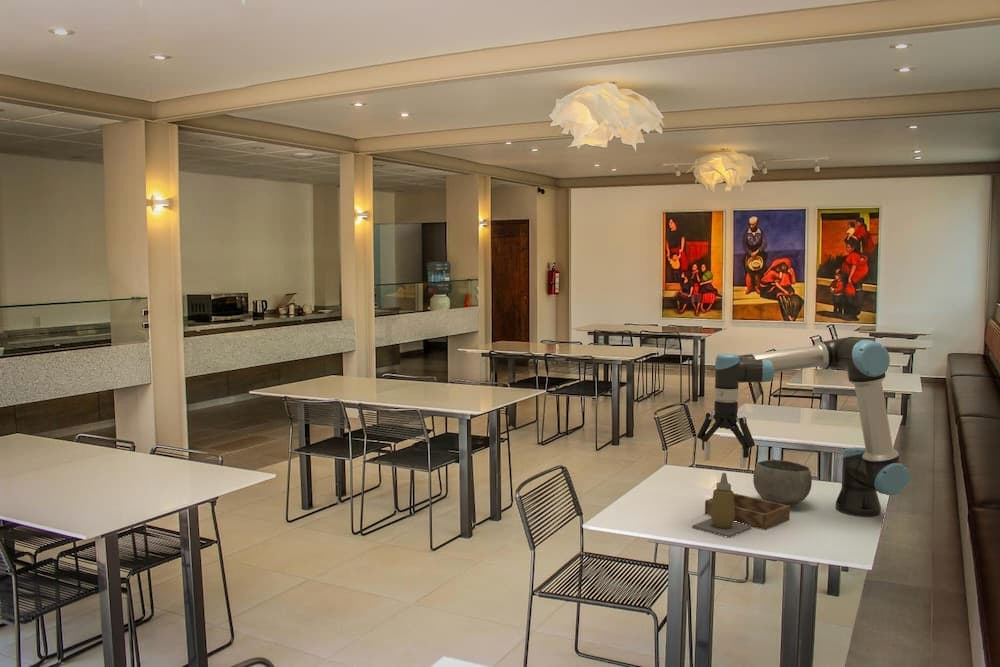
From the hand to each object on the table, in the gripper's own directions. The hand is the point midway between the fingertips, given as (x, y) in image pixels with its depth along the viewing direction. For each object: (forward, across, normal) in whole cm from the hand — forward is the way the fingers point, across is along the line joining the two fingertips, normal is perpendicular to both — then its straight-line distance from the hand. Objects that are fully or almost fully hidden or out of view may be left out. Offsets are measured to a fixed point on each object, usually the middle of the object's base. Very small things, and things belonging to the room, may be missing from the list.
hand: (724, 463), depth 276 cm
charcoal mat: (+22, 0, 0) cm, 22 cm away
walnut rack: (+22, -1, +18) cm, 28 cm away
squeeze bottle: (+21, 0, 0) cm, 21 cm away
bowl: (+23, -1, +43) cm, 48 cm away
